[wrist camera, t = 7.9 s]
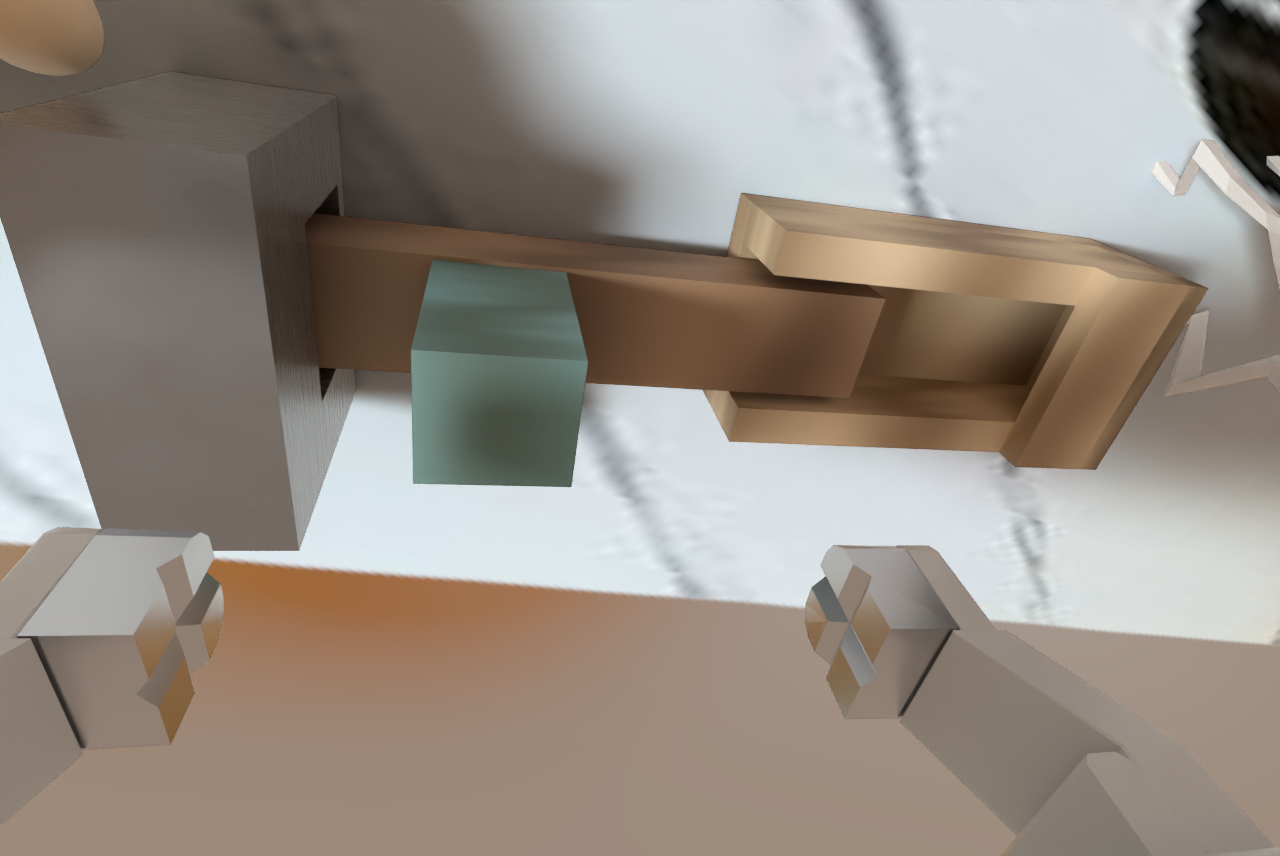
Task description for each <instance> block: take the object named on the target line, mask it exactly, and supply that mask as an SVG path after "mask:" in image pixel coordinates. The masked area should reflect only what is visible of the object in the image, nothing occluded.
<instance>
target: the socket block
mask: <svg viewBox="0 0 1280 856" xmlns="http://www.w3.org/2000/svg"><path fill="white" fill-rule="evenodd" d="M313 213H317V214H326V215H335V216H345V213H344V197H343V182H342V167H341V151H340V136H339V121H338V105H337V96H336V95H329V94H322V93H315V92H308V91H301V90H294V89H287V88H281V87H274V86H267V85H260V84H253V83H246V82H239V81H232V80H225V79H219V78H212V77H205V76H198V75H191V74H184V73H177V72H170V71H169V72H165V73H161V74H157V75H153V76H149V77H145V78H141V79H137V80H133V81H129V82H125V83H121V84H117V85H113V86H109V87H105V88H101V89H97V90H93V91H88V92H84V93H80V94H76V95H72V96H68V97H64V98H60V99H56V100H52V101H48V102H44V103H40V104H36V105H32V106H28V107H24V108H20V109H16V110H12V111H8V112H4V113H0V218H1V221H2V224H3V227H4V230H5V233H6V236H7V239H8V242H9V245H10V248H11V252H12V255H13V258H14V261H15V264H16V267H17V270H18V273H19V276H20V279H21V282H22V285H23V288H24V291H25V294H26V298H27V301H28V304H29V307H30V310H31V313H32V316H33V319H34V322H35V325H36V328H37V331H38V334H39V337H40V341H41V344H42V347H43V350H44V353H45V356H46V359H47V362H48V365H49V368H50V371H51V374H52V377H53V380H54V383H55V387H56V390H57V393H58V396H59V399H60V402H61V405H62V408H63V411H64V414H65V417H66V420H67V423H68V426H69V430H70V433H71V436H72V439H73V442H74V445H75V448H76V451H77V454H78V457H79V460H80V463H81V466H82V469H83V472H84V476H85V479H86V482H87V485H88V488H89V491H90V494H91V497H92V500H93V503H94V506H95V509H96V512H97V515H98V519H99V522H100V525H101V528H102V529H108V528H114V529H138V530H162V531H186V532H201V533H203V534H205V535H207V536H209V539H210V543H211V546H212V550H213V551H299V550H300V547H301V544H302V541H303V538H304V535H305V533H306V530H307V527H308V524H309V521H310V518H311V516H312V513H313V510H314V507H315V504H316V501H317V499H318V496H319V493H320V490H321V487H322V485H323V482H324V479H325V476H326V473H327V470H328V468H329V465H330V462H331V459H332V456H333V453H334V451H335V448H336V445H337V442H338V439H339V436H340V434H341V431H342V428H343V425H344V422H345V419H346V417H347V414H348V411H349V408H350V405H351V402H352V400H353V397H354V394H355V391H356V382H355V369H337V368H320V367H319V366H318V355H317V345H316V334H315V324H314V314H313V303H312V293H311V282H310V272H309V261H308V251H307V240H306V230H305V223H306V222H307V221H308V219H309V218H310V217H311V216H312V214H313Z"/></svg>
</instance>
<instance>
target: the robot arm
mask: <svg viewBox="0 0 1280 856" xmlns="http://www.w3.org/2000/svg"><path fill="white" fill-rule="evenodd" d="M213 559H214V553H213V550H212V546H211V543H210V539H209V536H207V535H205V534H203V533H201V532H186V531H162V530H138V529H114V528H108V529H92V528H70V527H57V528H55V529H53V530H50V531H48V532H46V533H44V534H43V535H42V536H41V537H40V538H39V539H38V540H37V541H36V542H35V544H34V545H33V546H32V547H31V548H30V549H29V550H28V552H27V553H26V554H25V555H24V556H23V557H22V558H21V560H20V561H19V562H18V563H17V564H16V565H15V566H14V567H13V569H12V570H11V571H10V572H9V573H8V574H7V575H6V577H5V578H4V579H3V580H2V581H1V582H0V826H1V825H3V824H4V823H5V822H6V821H7V820H8V819H10V818H11V817H12V816H13V815H14V814H15V813H16V812H18V811H19V810H20V809H21V808H22V807H23V806H25V805H26V804H27V803H28V802H29V801H30V800H32V799H33V798H34V797H35V796H36V795H37V794H39V793H40V792H41V791H42V790H43V789H44V788H45V787H47V786H48V785H49V784H50V783H51V782H52V781H54V780H55V779H56V778H57V777H58V776H59V775H61V774H62V773H63V772H64V771H65V770H66V769H67V768H69V767H70V766H71V765H72V764H73V763H75V762H76V761H77V760H78V759H79V758H80V757H81V756H83V752H82V750H98V749H114V748H128V747H129V748H130V747H146V746H161V745H171V743H172V741H173V739H174V737H175V735H176V732H177V730H178V728H179V726H180V724H181V721H182V720H183V717H184V715H185V713H186V711H187V709H188V707H189V704H190V702H191V700H192V698H193V696H194V694H195V692H194V688H193V685H192V682H191V677H190V675H191V674H193V673H194V672H195V671H196V670H198V669H199V668H201V667H202V666H203V665H205V664H206V663H207V662H209V661H210V659H211V657H212V654H213V652H214V650H215V647H216V645H217V643H218V640H219V636H220V631H221V627H222V622H223V617H224V598H223V593H222V588H221V584H220V583H219V582H218V581H216V580H215V579H214V578H213V577H211V576H210V575H209V574H208V573H207V570H208V568H209V566H210V564H211V562H212V560H213ZM821 567H822V569H823V571H824V574H825V576H826V577H824V578H823V579H822V580H820V581H819V582H818V583H817V584H815V585H814V586H813V587H812V588H811V590H810V593H809V596H808V599H807V602H806V608H805V624H806V629H807V633H808V638H809V640H810V642H811V645H812V647H813V649H814V652H816V653H817V654H818V655H819V656H820V657H822V658H823V659H824V660H825V661H827V662H828V663H829V664H830V667H829V670H828V674H827V677H826V679H827V681H828V683H829V685H830V688H831V690H832V692H833V694H834V696H835V699H836V701H837V703H838V705H839V708H840V710H841V712H842V714H843V716H844V719H901V720H900V722H901V723H902V724H903V725H904V726H905V727H906V728H907V729H908V730H909V731H910V732H911V733H912V734H913V735H914V736H915V737H916V738H917V739H918V740H919V741H920V742H921V743H922V744H923V745H924V746H925V747H926V748H927V749H928V750H929V751H930V752H931V753H932V754H933V755H934V756H936V757H937V758H938V759H939V760H940V761H941V762H942V763H943V764H944V765H945V766H946V767H947V768H948V769H949V770H950V771H951V772H952V773H953V774H954V775H955V776H956V777H957V778H958V779H959V780H960V781H961V782H962V783H963V784H964V785H965V786H966V787H967V788H968V789H969V790H970V791H971V792H972V793H973V794H975V796H976V797H978V798H979V799H980V800H981V801H982V802H983V803H984V804H985V805H986V806H987V807H988V808H989V809H990V810H991V811H992V812H993V813H994V814H995V815H996V816H997V817H998V818H999V819H1000V820H1001V821H1002V822H1003V823H1004V824H1005V825H1006V826H1007V827H1008V828H1009V829H1010V830H1011V831H1012V832H1013V833H1014V834H1015V835H1016V836H1017V837H1016V838H1015V839H1014V840H1013V841H1012V843H1011V844H1010V845H1009V846H1008V847H1007V848H1006V850H1005V851H1004V852H1003V853H1002V854H1001V855H1000V856H1280V847H1277V848H1276V847H1275V846H1274V845H1273V844H1272V843H1271V842H1270V840H1269V839H1268V838H1267V837H1266V836H1265V835H1264V834H1263V832H1262V831H1261V830H1260V829H1259V828H1258V827H1257V826H1256V824H1255V823H1254V822H1253V821H1252V820H1251V819H1250V818H1249V816H1248V815H1247V814H1246V813H1245V812H1244V811H1243V810H1242V808H1241V807H1240V806H1239V805H1238V804H1237V803H1236V802H1235V801H1234V799H1233V798H1232V797H1231V796H1230V795H1229V794H1228V793H1227V791H1226V790H1225V789H1224V788H1223V787H1222V786H1221V785H1220V783H1219V782H1218V781H1217V780H1216V779H1215V778H1214V777H1213V775H1212V774H1211V773H1210V772H1209V771H1208V770H1207V769H1206V767H1204V765H1203V764H1202V763H1201V762H1200V761H1199V759H1198V758H1197V757H1196V756H1195V755H1194V754H1193V753H1192V751H1190V749H1189V748H1188V747H1187V746H1186V745H1185V744H1183V743H1181V742H1180V741H1178V740H1177V739H1175V738H1174V737H1172V736H1170V735H1169V734H1167V733H1166V732H1164V731H1163V730H1161V729H1159V728H1158V727H1156V726H1155V725H1153V724H1152V723H1150V722H1149V721H1147V720H1146V719H1144V718H1142V717H1141V716H1139V715H1138V714H1136V713H1135V712H1133V711H1131V710H1130V709H1128V708H1126V707H1125V706H1124V705H1122V704H1121V703H1119V702H1117V701H1116V700H1114V699H1113V698H1111V697H1109V696H1108V695H1106V694H1105V693H1103V692H1102V691H1100V690H1099V689H1097V688H1095V687H1094V686H1093V685H1091V684H1089V683H1088V682H1086V681H1085V680H1083V679H1082V678H1080V677H1078V676H1077V675H1075V674H1074V673H1072V672H1071V671H1069V670H1067V669H1066V668H1064V667H1063V666H1061V665H1059V664H1058V663H1057V662H1055V661H1054V660H1052V659H1050V658H1049V657H1047V656H1046V655H1044V654H1043V653H1041V652H1039V651H1038V650H1036V649H1035V648H1033V647H1032V646H1030V645H1029V644H1027V643H1025V642H1023V641H1022V640H1021V639H1019V638H1018V637H1016V636H1014V635H1013V634H1011V633H1010V632H1008V631H1007V630H996V629H995V627H994V626H993V625H992V623H991V622H990V621H989V619H988V618H987V617H986V615H985V614H984V613H983V611H982V610H981V609H980V607H979V606H978V605H977V603H976V602H975V601H974V599H973V598H972V597H971V595H970V594H969V593H968V591H967V590H966V589H965V587H964V586H963V585H962V583H961V582H960V581H959V579H958V578H957V577H956V575H955V574H954V573H953V571H952V570H951V569H950V567H949V566H948V565H947V563H946V562H945V560H944V559H943V558H942V556H941V555H940V554H939V552H937V551H936V550H935V549H933V548H931V547H930V546H853V545H833V546H832V547H831V548H830V549H829V550H828V551H827V552H826V554H825V556H824V559H823V561H822V563H821Z"/></svg>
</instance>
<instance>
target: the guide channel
mask: <svg viewBox="0 0 1280 856" xmlns="http://www.w3.org/2000/svg"><path fill="white" fill-rule="evenodd" d="M727 257H729V258H738V259H748V260H757V261H761V262H762V263H763V264H764V265H765V266H766V267H767V268H768V269H769V270H770V271H771V272H772V273H773V274H774V275H778V276H788V277H798V278H808V279H818V280H827V281H837V282H847V283H857V284H867V285H869V286H870V287H871V288H872V289H874V290H875V291H876V292H877V293H879V294H880V295H881V296H882V297H884V298H885V299H886V300H885V302H884V305H883V308H882V310H881V313H880V316H879V319H878V321H877V324H876V327H875V329H874V332H873V335H872V338H871V340H870V343H869V346H868V349H867V351H866V354H865V357H864V359H863V362H862V365H861V368H860V370H859V373H858V376H857V378H856V381H855V384H854V387H853V389H852V392H851V395H850V398H839V397H822V396H805V395H787V394H770V393H753V392H735V391H718V390H703V391H704V393H705V395H706V397H707V399H708V401H709V403H710V405H711V407H712V409H713V411H714V413H715V415H716V417H717V419H718V421H719V423H720V425H721V426H722V428H723V430H724V432H725V434H726V436H727V438H728V440H729V441H731V442H757V443H782V444H807V445H833V446H858V447H884V448H909V449H934V450H960V451H985V452H1000V453H1001V454H1002V455H1003V456H1004V457H1005V458H1006V459H1007V460H1008V461H1009V462H1010V463H1012V464H1013V465H1014V466H1015V467H1033V468H1062V469H1092V470H1096V468H1097V467H1098V465H1099V463H1100V462H1101V460H1102V459H1103V457H1104V455H1105V454H1106V452H1107V451H1108V449H1109V447H1110V446H1111V444H1112V443H1113V441H1114V439H1115V438H1116V436H1117V435H1118V433H1119V431H1120V430H1121V428H1122V427H1123V425H1124V423H1125V422H1126V420H1127V418H1128V417H1129V415H1130V414H1131V412H1132V410H1133V409H1134V407H1135V406H1136V404H1137V402H1138V401H1139V399H1140V398H1141V396H1142V394H1143V393H1144V391H1145V390H1146V388H1147V386H1148V385H1149V383H1150V382H1151V380H1152V378H1153V377H1154V375H1155V373H1156V372H1157V370H1158V369H1159V367H1160V365H1161V364H1162V362H1163V361H1164V359H1165V357H1166V356H1167V354H1168V353H1169V351H1170V349H1171V348H1172V346H1173V345H1174V343H1175V341H1176V340H1177V338H1178V337H1179V335H1180V333H1181V332H1182V330H1183V328H1184V327H1185V325H1186V324H1187V322H1188V320H1189V319H1190V317H1191V316H1192V314H1193V312H1194V311H1195V309H1196V308H1197V306H1198V304H1199V303H1200V301H1201V300H1202V298H1203V296H1204V295H1205V293H1206V292H1207V290H1208V288H1207V287H1204V286H1202V285H1199V284H1197V283H1195V282H1192V281H1190V280H1187V279H1185V278H1183V277H1180V276H1178V275H1175V274H1173V273H1171V272H1168V271H1166V270H1164V269H1161V268H1159V267H1156V266H1154V265H1152V264H1149V263H1147V262H1144V261H1142V260H1140V259H1137V258H1135V257H1132V256H1130V255H1128V254H1125V253H1123V252H1121V251H1118V250H1116V249H1113V248H1111V247H1109V246H1106V245H1104V244H1101V243H1099V242H1097V241H1094V240H1092V239H1089V238H1081V237H1074V236H1066V235H1058V234H1051V233H1043V232H1036V231H1028V230H1020V229H1013V228H1005V227H997V226H990V225H982V224H974V223H967V222H959V221H952V220H944V219H936V218H929V217H921V216H913V215H906V214H898V213H890V212H883V211H875V210H867V209H860V208H852V207H845V206H837V205H829V204H822V203H814V202H806V201H799V200H791V199H783V198H776V197H768V196H761V195H753V194H745V193H741V196H740V200H739V205H738V209H737V213H736V218H735V222H734V226H733V231H732V235H731V239H730V244H729V248H728V252H727Z"/></svg>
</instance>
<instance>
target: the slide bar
mask: <svg viewBox="0 0 1280 856" xmlns="http://www.w3.org/2000/svg"><path fill="white" fill-rule="evenodd" d="M305 230H306V240H307V251H308V261H309V272H310V282H311V293H312V303H313V314H314V324H315V334H316V345H317V355H318V366H319V367H320V368H337V369H355V370H372V371H389V372H407V373H411V380H412V440H413V484H456V485H503V486H550V487H571V485H572V478H573V470H574V463H575V455H576V448H577V440H578V433H579V425H580V418H581V410H582V403H583V395H584V388H585V383H597V384H614V385H632V386H649V387H666V388H684V389H701V390H718V391H735V392H753V393H770V394H787V395H805V396H822V397H839V398H850V395H851V392H852V389H853V387H854V384H855V381H856V378H857V376H858V373H859V370H860V368H861V365H862V362H863V359H864V357H865V354H866V351H867V349H868V346H869V343H870V340H871V338H872V335H873V332H874V329H875V327H876V324H877V321H878V319H879V316H880V313H881V310H882V308H883V305H884V302H885V300H886V299H885V298H884V297H882V296H881V295H880V294H879V293H877V292H876V291H875V290H874V289H872V288H871V287H870V286H869V285H867V284H857V283H847V282H837V281H827V280H818V279H808V278H798V277H788V276H778V275H774V274H773V273H772V272H771V271H770V270H769V269H768V268H767V267H766V266H765V265H764V264H763V263H762V262H761V261H757V260H748V259H738V258H729V257H720V256H710V255H701V254H691V253H682V252H673V251H663V250H654V249H645V248H635V247H626V246H616V245H607V244H598V243H588V242H579V241H570V240H560V239H551V238H541V237H532V236H523V235H513V234H504V233H495V232H485V231H476V230H467V229H457V228H448V227H438V226H429V225H420V224H410V223H401V222H392V221H382V220H373V219H363V218H354V217H345V216H335V215H326V214H317V213H313V214H312V216H311V217H310V218H309V219H308V221H307V222H306V223H305Z"/></svg>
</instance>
